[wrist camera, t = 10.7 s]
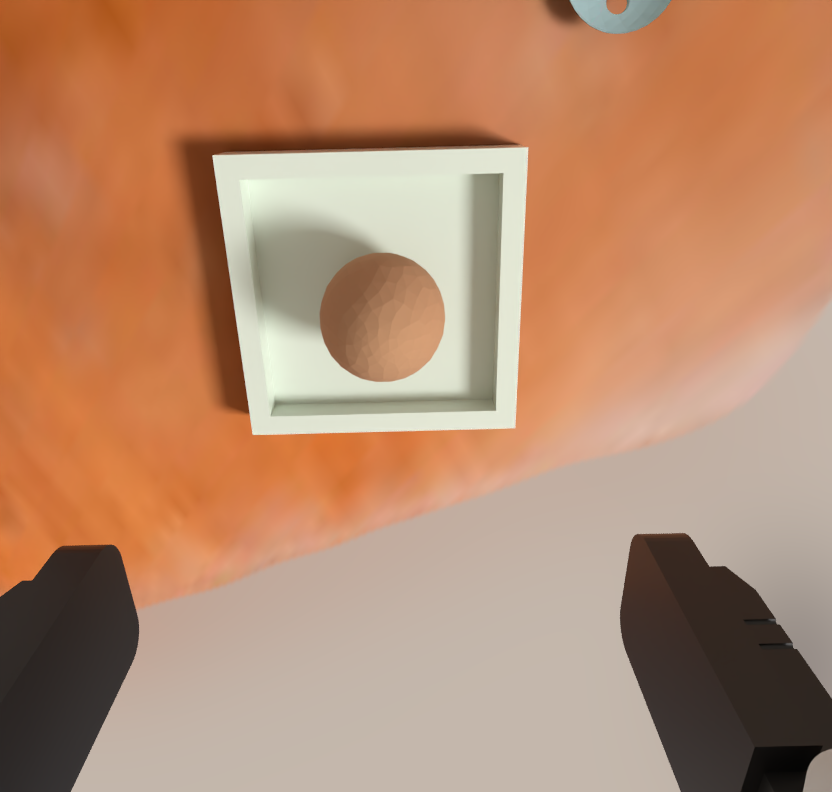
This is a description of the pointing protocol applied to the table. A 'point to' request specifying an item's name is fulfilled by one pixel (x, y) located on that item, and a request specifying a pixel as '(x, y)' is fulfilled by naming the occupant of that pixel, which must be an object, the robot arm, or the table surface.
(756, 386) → the table surface
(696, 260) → the table surface
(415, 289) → the egg
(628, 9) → the pacifier
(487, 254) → the dish
